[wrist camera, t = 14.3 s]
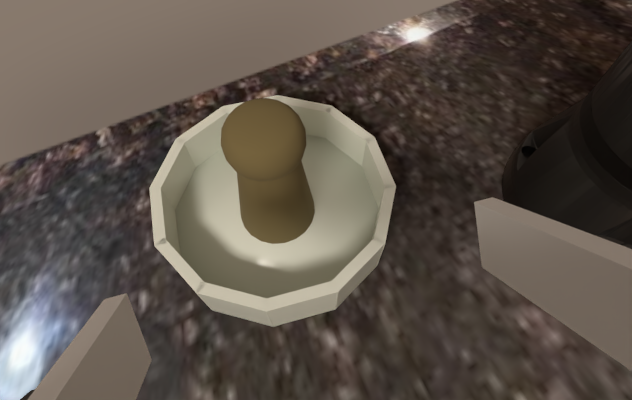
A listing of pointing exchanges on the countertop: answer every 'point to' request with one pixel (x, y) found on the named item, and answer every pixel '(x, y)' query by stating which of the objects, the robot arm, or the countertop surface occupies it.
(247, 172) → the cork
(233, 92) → the countertop surface
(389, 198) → the bowl
